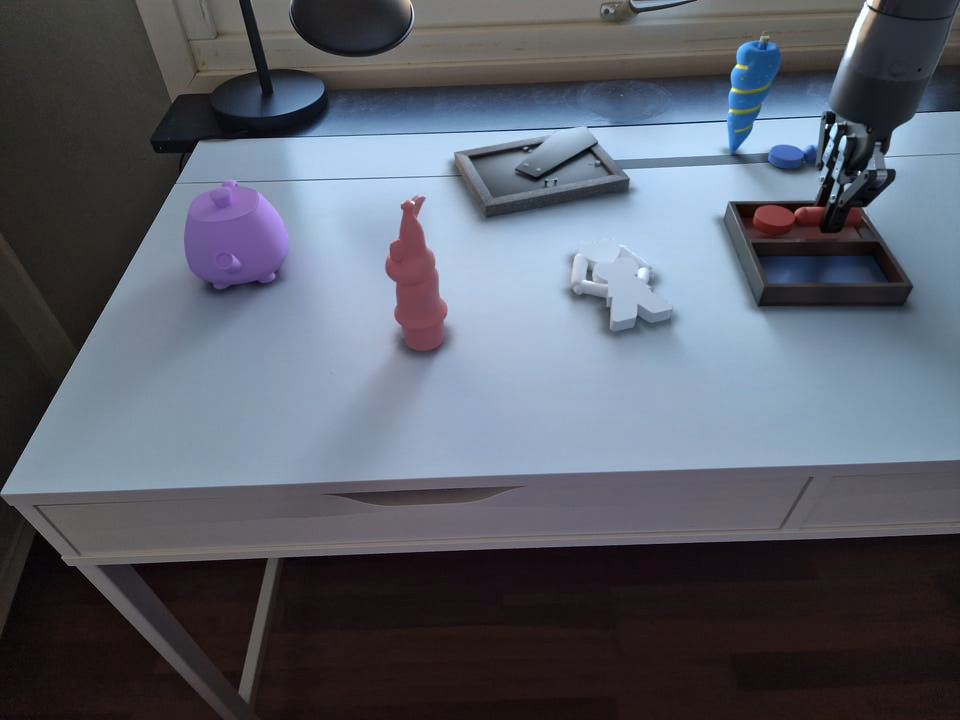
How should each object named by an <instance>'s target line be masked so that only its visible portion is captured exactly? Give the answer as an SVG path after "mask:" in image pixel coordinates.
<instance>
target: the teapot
mask: <svg viewBox="0 0 960 720" xmlns="http://www.w3.org/2000/svg"><path fill="white" fill-rule="evenodd" d="M183 245H184V246H183V247H184V254H185V259H186V262H187V265H188V268H189V270H190V271H191V272H192V273H193V274H194V275H195V276H196V277H198V278H200V279H202V280H204V281H207V282H209V283H212V284H213V288H215V289H216V290H217V289H218V290H224V289H226V288H228V287H230V286H231V285H241V284H247V283H251V282H255V281H257V282H258V283H262V284H268V283H270V282H272V281H274V280H275V278H276V273H275V272H277V270H279V269H280V268H281V266H282V264H283V263H284V262H285V259H286V257H287V254H288V251H289V245H290V237H289V233H288V230H287V227H286V225H285V223H284V221H283V219H282V217H281V215H280V214H279V212H278V211H277V210H276V209H275V207H274V206H273V205H272V204H271V203H270V202H269V200H267V199H266V198H265V197H264V196H263V195H262V194H261V193H260V192H258V190H255V188H251V187H248V186H240V185H239V183H238V181H236V180H234V179H226V180H224V181H223V182H222V183H221V186H219V187H216V188H213V189H211V190H207V191H205V192H202V193H200V194H198V195H197V196H196V197H195V198H194V199H193V200H192V201H191V203H190V205H189V209H188V212H187V216H186V220H185V225H184V233H183Z"/></svg>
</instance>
